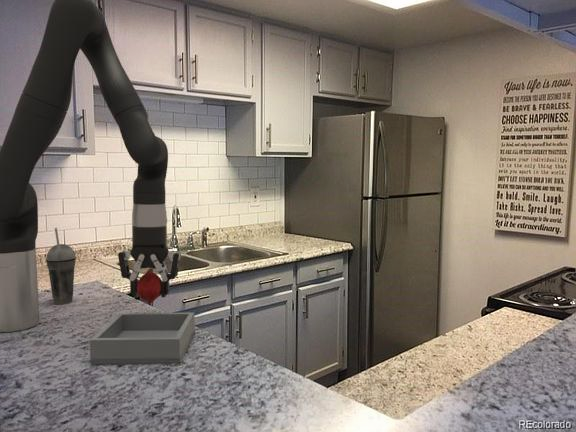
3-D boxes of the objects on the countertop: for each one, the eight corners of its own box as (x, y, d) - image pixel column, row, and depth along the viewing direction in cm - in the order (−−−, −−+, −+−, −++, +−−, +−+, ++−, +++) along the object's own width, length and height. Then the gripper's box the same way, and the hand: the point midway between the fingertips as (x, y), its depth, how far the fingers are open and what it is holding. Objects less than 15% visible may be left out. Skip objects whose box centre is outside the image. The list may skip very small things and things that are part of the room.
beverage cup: (84, 300, 126) (81, 226, 124) (61, 307, 120) (57, 229, 118) (64, 297, 129) (61, 225, 127) (41, 304, 123) (37, 228, 121)
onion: (155, 307, 104) (155, 272, 104) (131, 305, 106) (131, 270, 105) (167, 300, 110) (167, 267, 109) (144, 298, 111) (144, 265, 111)
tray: (90, 364, 84) (89, 340, 84) (119, 333, 100) (119, 313, 100) (180, 363, 85) (179, 339, 84) (194, 332, 101) (194, 312, 100)
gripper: (111, 225, 102) (112, 300, 104) (178, 226, 103) (178, 301, 104) (122, 221, 110) (123, 291, 111) (184, 222, 110) (184, 292, 112)
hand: (150, 296), depth 108 cm, fingers closed on onion, 6 cm apart
